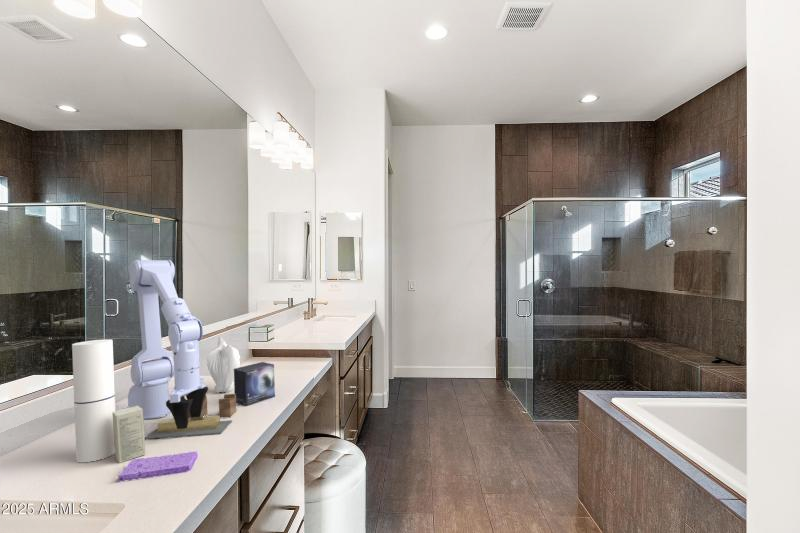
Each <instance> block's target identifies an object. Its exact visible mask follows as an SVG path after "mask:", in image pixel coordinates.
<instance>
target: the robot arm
mask: <svg viewBox="0 0 800 533" xmlns="http://www.w3.org/2000/svg"><path fill="white" fill-rule="evenodd" d="M175 268H176V267H175V265H174V262H172V260H170V259H162V260H161V259H159V260H158V259H157V260H155V259H154V260H153V259H152V260H150V259H149V260H147V259H146V260H144V259H143V260H142V259H141V260H138V259H134V260H133V261H132V262H131V263H130V266H129V271H128V274H129V284H130V288H131V290H132V291H134V292H136V293H137V298H138V299H137V300H138V309H139V322H140V334H141V347H142V348H141V350H140V351H139V352H137V353H136V354H135V355H133V357H132V358H131V362H130V363H131V367H130V378H131V381H132V383H133V385H131V387H130V388H129V391H128V394H127V405H128V407H127V408H130V407H134V406H139V407H141V408H142V409H143V420H149V419H161V418H160V417H162V418H165V416H166V414H167V415H168V414H169V412H170V413H171V415H172V417H173V418H172V419H174V420H175V423H176V426H177V429H186V428H187V426H188V420H189V411H190V415H191V417H200V416H201V411H202V406H203V401H204V398H205V396H207V394H208V391H209V387H208V386H206V384H205V382H204V381H205V380H204V379H205V378H204V377H201V363H200V341H201V340H202V339H203V334H204V330H203V324H202V323H201V320H200V319H199V318H197V317H196V316H193V315H192V313H191V311H190V309H189V307H188V305H187V303H186V301H185V300H184V299H183V298H181V297H179V296H178V293H177V289H176V288H175V284H174V278H175V275H176V269H175ZM159 297H160V298H159ZM159 299H161V301H162V305H161V309H160V305H159ZM160 310H161V312H162V314H163V317H164V319H165V321H166V323H167V325H168V330H167V331H168V333H167V337H168V341H169V343H170V344H169V345H170V350H167V349H166V348H164V347H163V343H162V342H163V341H162V330H161V327H162V326H161V317H160ZM172 352H173V353H172ZM173 377H174V387H173V390H172V392H171V393H170V390H169V389H170V388H169V382H171V379H172V378H173ZM169 393H170V394H169Z"/></svg>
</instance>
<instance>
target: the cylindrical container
mask: <svg viewBox="0 0 800 533" xmlns="http://www.w3.org/2000/svg"><path fill="white" fill-rule="evenodd" d="M113 341H114V340H113V339H109V338H108V339H105V338H103V339H93V340H86V341H80V342H75V343H72V344H71V350H72V376H73V379H72V380H73V382H72V383H73V401H74V402H73V405H74V427H75V429H74V430H75V453H76V454H75V455H76V462H77V463H79V462H90V461H95V462H97V461H96V460H99V461H101V460H100V459H102V460H105V459H107V458H106V457H108V458H110V457H111V455H112V456H113V455H115V444H114V430H113V415H112V412H115V411H116V395H115V393H116V390H115V388H116V387H115V369H114V366H115V364H114V345H113V344H114V343H113ZM109 456H110V457H109ZM104 458H105V459H104ZM90 463H91V462H90Z"/></svg>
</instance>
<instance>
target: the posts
mask: <svg viewBox="0 0 800 533" xmlns="http://www.w3.org/2000/svg"><path fill="white" fill-rule="evenodd" d="M237 410H238V409H237V403H236V394H235V393H227V394H223V398H219V399H218V415H220V419H222V418H221V417H229V418H232V417H233V416H234V415H235V414H236V413H237ZM234 413H235V414H234ZM207 414H208V395H205V398H204V401H203V406H202V411H201V416H200V417H203V416H204V415H205V416H207ZM233 414H234V415H233ZM232 415H233V416H232ZM231 416H232V417H231ZM189 418H191V415H190V411H189Z"/></svg>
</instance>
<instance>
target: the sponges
mask: <svg viewBox="0 0 800 533" xmlns="http://www.w3.org/2000/svg"><path fill="white" fill-rule="evenodd" d="M198 454H199V453H198V450H196V451H188V452H181V453H177V454H166V455H161V456H159V455H158V456H151V457H150V456H149V457H145V458H143V457H142V458H141V457H140V458H133V459H130V460H131V461H130V462H128V464H127V466H125V468H123V470H122V471H121V472H120V473H119V474H118V476H117V477H118V482H119V481H122V482H126V481H125V480H129V481H133V480H132V479H136V480H140V479H139V478H142V479H147V478H146V477H149V478H154V477H153V476H156V477H161V476H168V475H175V474H182V473H187V472H190V471H191V470H192V469H193V466H194V465H195V462H196V461H197V459H198V456H199V455H198Z"/></svg>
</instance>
